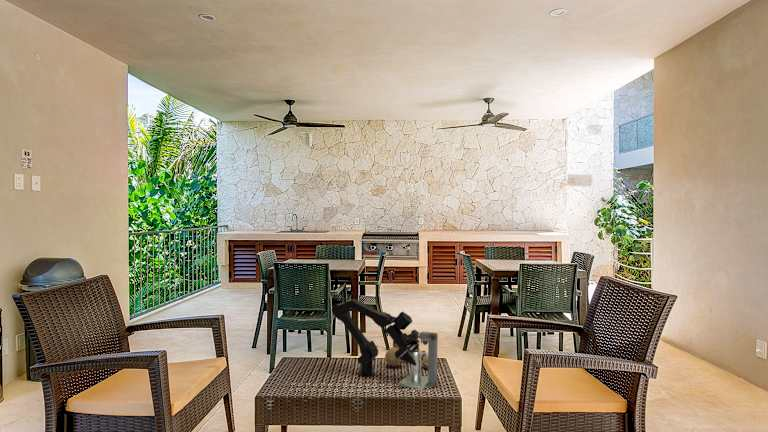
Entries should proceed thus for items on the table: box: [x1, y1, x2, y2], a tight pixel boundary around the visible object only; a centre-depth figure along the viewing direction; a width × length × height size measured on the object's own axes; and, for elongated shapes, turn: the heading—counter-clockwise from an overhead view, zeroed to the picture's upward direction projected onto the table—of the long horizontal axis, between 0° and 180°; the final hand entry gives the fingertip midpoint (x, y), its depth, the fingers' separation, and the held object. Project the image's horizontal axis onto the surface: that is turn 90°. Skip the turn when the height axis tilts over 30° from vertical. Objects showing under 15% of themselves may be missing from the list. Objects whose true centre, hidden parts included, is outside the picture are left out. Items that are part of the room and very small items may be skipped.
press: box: [398, 331, 438, 390], centre depth 208 cm, size 16×19×23 cm
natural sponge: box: [384, 346, 402, 368], centre depth 234 cm, size 9×9×10 cm
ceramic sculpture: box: [420, 350, 442, 370], centre depth 234 cm, size 11×9×15 cm
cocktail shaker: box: [410, 349, 422, 382], centre depth 211 cm, size 5×5×14 cm
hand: (419, 362), depth 210 cm, fingers open, 9 cm apart
